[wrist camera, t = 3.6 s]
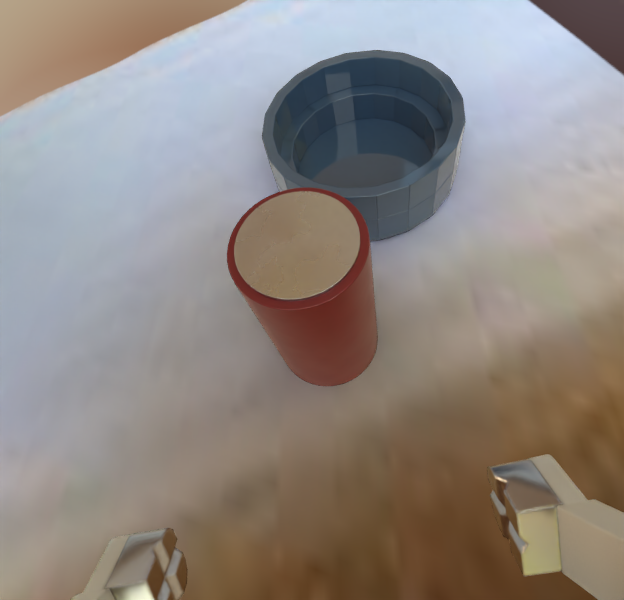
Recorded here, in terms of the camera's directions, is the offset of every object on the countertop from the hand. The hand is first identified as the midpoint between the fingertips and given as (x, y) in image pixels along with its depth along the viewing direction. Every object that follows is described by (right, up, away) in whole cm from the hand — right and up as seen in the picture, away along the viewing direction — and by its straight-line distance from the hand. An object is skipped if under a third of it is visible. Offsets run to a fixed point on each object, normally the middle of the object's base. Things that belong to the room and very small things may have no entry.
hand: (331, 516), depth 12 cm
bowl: (+4, +16, +24) cm, 29 cm away
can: (+1, +3, +19) cm, 19 cm away
